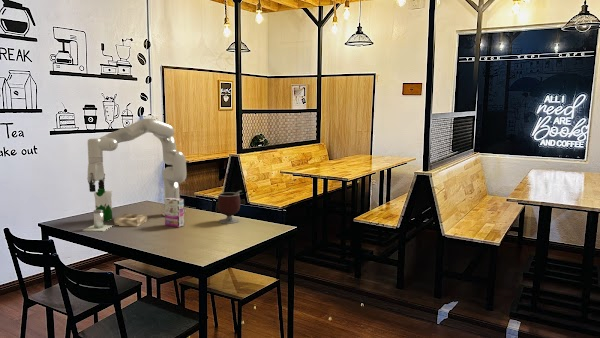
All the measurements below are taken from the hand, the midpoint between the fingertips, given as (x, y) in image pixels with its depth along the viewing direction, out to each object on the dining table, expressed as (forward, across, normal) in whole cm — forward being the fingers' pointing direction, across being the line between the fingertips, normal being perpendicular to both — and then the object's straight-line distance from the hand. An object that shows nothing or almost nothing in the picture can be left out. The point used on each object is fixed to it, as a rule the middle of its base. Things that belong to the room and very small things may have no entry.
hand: (97, 190), depth 257 cm
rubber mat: (+22, 0, 0) cm, 22 cm away
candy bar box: (+23, -11, +41) cm, 48 cm away
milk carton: (+22, -20, -7) cm, 31 cm away
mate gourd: (+23, -25, +71) cm, 79 cm away
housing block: (+22, -14, +13) cm, 29 cm away
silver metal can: (+22, 0, 0) cm, 22 cm away
